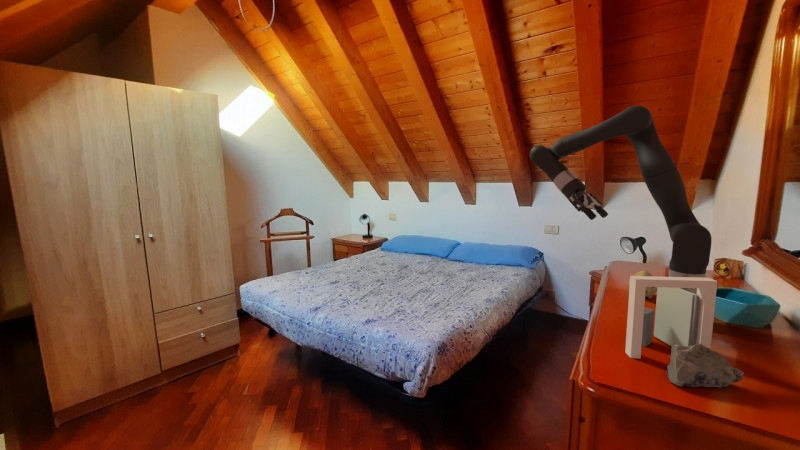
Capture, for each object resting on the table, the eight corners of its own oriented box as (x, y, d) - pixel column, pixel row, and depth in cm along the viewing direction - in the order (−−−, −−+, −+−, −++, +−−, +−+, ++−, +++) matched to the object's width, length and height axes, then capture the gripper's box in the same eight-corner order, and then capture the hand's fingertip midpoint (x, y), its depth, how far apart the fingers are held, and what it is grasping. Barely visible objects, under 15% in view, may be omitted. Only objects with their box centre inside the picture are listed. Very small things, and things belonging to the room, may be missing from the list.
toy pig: (626, 299, 131) (628, 273, 130) (628, 290, 141) (629, 266, 140) (657, 304, 126) (660, 277, 124) (657, 294, 135) (659, 269, 134)
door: (700, 357, 87) (706, 296, 85) (690, 358, 87) (696, 296, 85) (662, 335, 100) (666, 281, 98) (653, 335, 100) (657, 281, 98)
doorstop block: (627, 341, 98) (629, 309, 97) (634, 336, 101) (636, 305, 99) (644, 347, 94) (647, 314, 93) (651, 342, 97) (654, 309, 96)
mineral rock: (741, 386, 76) (746, 345, 75) (742, 410, 68) (747, 365, 67) (669, 365, 85) (673, 328, 84) (663, 384, 78) (666, 344, 76)
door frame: (700, 356, 89) (708, 277, 86) (709, 362, 86) (717, 281, 83) (625, 352, 92) (630, 275, 89) (630, 357, 89) (636, 279, 86)
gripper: (566, 177, 117) (598, 211, 109) (586, 177, 125) (618, 208, 117) (551, 192, 122) (581, 226, 114) (571, 191, 130) (601, 222, 122)
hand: (600, 217), depth 116 cm, fingers open, 8 cm apart
